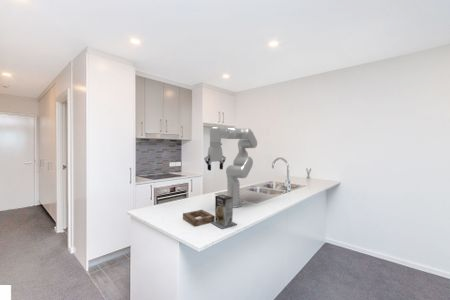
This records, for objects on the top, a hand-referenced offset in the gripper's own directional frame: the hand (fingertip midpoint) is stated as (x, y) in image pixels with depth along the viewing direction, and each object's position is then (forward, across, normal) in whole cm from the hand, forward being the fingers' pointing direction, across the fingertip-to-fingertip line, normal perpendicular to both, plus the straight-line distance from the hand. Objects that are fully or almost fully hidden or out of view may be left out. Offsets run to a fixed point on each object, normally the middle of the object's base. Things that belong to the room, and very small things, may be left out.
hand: (215, 169), depth 144 cm
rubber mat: (+30, +7, +20) cm, 37 cm away
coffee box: (+30, +7, +20) cm, 37 cm away
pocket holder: (+30, +16, +5) cm, 35 cm away
